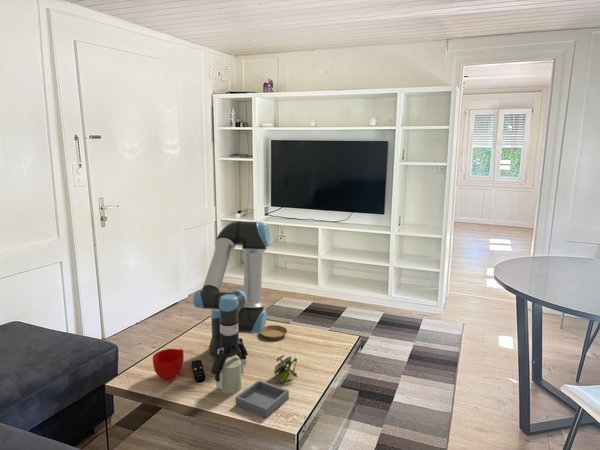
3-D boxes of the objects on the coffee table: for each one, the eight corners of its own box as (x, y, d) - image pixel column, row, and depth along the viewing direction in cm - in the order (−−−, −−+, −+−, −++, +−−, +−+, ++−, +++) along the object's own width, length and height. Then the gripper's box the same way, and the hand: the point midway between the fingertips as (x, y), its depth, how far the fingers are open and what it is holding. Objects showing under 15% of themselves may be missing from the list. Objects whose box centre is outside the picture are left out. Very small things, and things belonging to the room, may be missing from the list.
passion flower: (280, 385, 194) (283, 357, 199) (301, 386, 189) (304, 358, 194) (267, 381, 185) (271, 352, 191) (289, 383, 180) (293, 353, 186)
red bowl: (195, 367, 198) (194, 347, 196) (172, 387, 182) (171, 365, 180) (171, 363, 202) (170, 343, 200) (147, 381, 186) (146, 359, 185)
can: (237, 395, 177) (236, 368, 174) (216, 392, 178) (215, 365, 176) (244, 383, 186) (244, 357, 183) (224, 380, 187) (223, 355, 185)
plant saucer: (287, 329, 240) (287, 325, 240) (286, 341, 226) (286, 336, 226) (261, 329, 240) (261, 325, 240) (258, 341, 226) (258, 336, 226)
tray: (235, 405, 170) (235, 397, 169) (259, 387, 182) (259, 379, 182) (266, 418, 162) (266, 409, 161) (288, 398, 174) (288, 390, 174)
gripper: (215, 346, 165) (216, 397, 169) (255, 324, 186) (255, 369, 190) (200, 341, 169) (202, 391, 173) (241, 320, 190) (242, 365, 194)
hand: (230, 380), depth 181 cm, fingers open, 13 cm apart
